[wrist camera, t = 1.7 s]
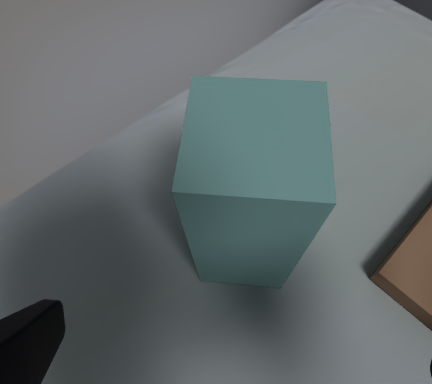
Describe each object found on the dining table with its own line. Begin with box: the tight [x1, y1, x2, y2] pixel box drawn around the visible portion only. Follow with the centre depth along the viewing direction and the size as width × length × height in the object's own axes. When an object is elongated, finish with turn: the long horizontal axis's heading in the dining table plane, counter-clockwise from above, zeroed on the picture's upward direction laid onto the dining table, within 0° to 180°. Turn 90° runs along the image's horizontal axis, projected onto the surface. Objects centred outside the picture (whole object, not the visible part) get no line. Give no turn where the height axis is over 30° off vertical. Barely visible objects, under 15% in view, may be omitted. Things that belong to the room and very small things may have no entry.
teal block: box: [171, 76, 336, 288], centre depth 16 cm, size 5×5×12 cm
